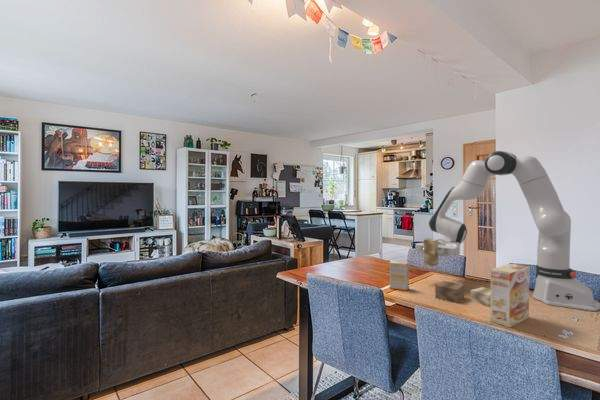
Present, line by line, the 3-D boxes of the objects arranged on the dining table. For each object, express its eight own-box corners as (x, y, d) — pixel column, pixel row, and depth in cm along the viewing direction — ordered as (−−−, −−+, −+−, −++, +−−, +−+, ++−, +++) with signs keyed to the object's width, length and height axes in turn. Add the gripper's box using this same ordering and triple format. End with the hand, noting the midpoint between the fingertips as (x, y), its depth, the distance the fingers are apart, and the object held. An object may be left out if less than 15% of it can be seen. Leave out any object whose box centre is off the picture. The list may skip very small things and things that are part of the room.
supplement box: (409, 288, 160) (409, 261, 159) (406, 291, 156) (406, 263, 155) (392, 286, 164) (392, 260, 164) (389, 288, 160) (389, 262, 159)
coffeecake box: (510, 328, 114) (510, 272, 113) (489, 321, 120) (489, 268, 119) (530, 318, 122) (530, 266, 121) (509, 312, 128) (509, 262, 127)
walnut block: (464, 298, 145) (464, 284, 145) (456, 303, 139) (456, 289, 139) (443, 293, 152) (443, 280, 152) (435, 298, 145) (435, 285, 145)
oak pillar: (438, 264, 158) (438, 239, 157) (434, 266, 154) (433, 240, 154) (428, 262, 161) (428, 238, 161) (423, 264, 158) (423, 239, 157)
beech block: (500, 303, 138) (500, 292, 138) (488, 307, 134) (488, 295, 134) (482, 298, 145) (482, 287, 145) (470, 301, 141) (470, 290, 141)
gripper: (421, 238, 174) (409, 242, 164) (462, 242, 159) (452, 247, 149) (422, 250, 174) (409, 255, 164) (462, 255, 159) (452, 260, 150)
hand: (430, 251), depth 157 cm, fingers closed on oak pillar, 5 cm apart
